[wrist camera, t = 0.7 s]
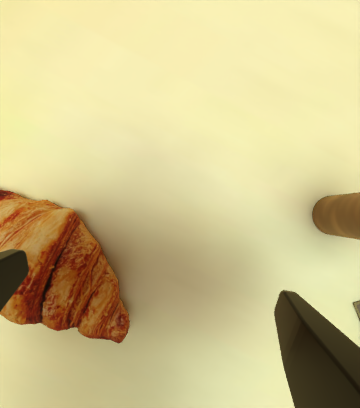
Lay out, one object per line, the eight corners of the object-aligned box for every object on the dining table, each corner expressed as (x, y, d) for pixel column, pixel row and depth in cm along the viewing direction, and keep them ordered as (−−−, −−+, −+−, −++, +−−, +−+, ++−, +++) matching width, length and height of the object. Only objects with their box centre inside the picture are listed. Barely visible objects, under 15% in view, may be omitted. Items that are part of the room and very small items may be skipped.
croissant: (-7, 210, 27) (-106, 242, 20) (3, 137, 22) (-124, 145, 15) (128, 326, 24) (72, 408, 17) (172, 274, 20) (118, 358, 13)
